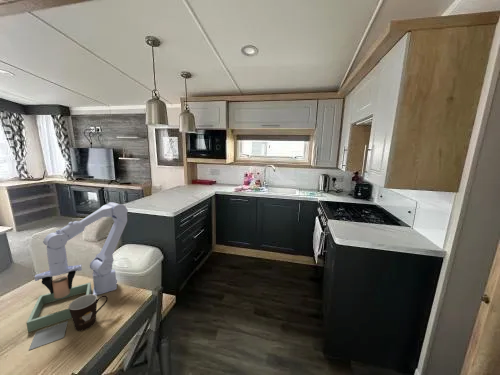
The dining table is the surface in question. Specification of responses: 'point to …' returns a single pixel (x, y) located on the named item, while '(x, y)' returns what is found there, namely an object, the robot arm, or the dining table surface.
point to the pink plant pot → (61, 287)
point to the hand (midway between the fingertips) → (61, 289)
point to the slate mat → (48, 335)
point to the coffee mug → (84, 311)
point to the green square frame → (55, 317)
